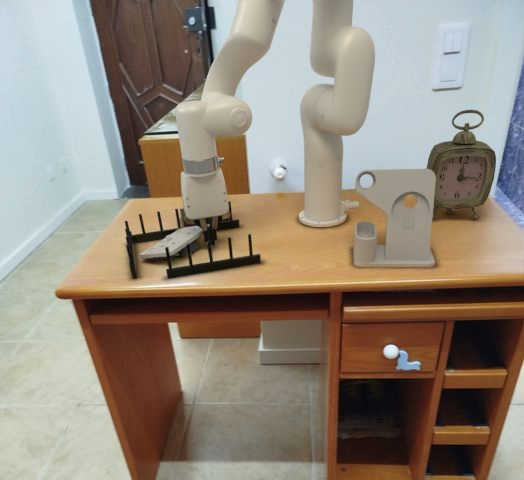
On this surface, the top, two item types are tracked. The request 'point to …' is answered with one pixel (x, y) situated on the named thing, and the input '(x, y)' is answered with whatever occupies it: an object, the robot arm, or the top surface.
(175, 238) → the wall socket
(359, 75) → the robot arm
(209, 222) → the control block
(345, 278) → the top surface
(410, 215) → the phone holder
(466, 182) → the tabletop clock
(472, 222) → the top surface
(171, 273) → the dish rack
